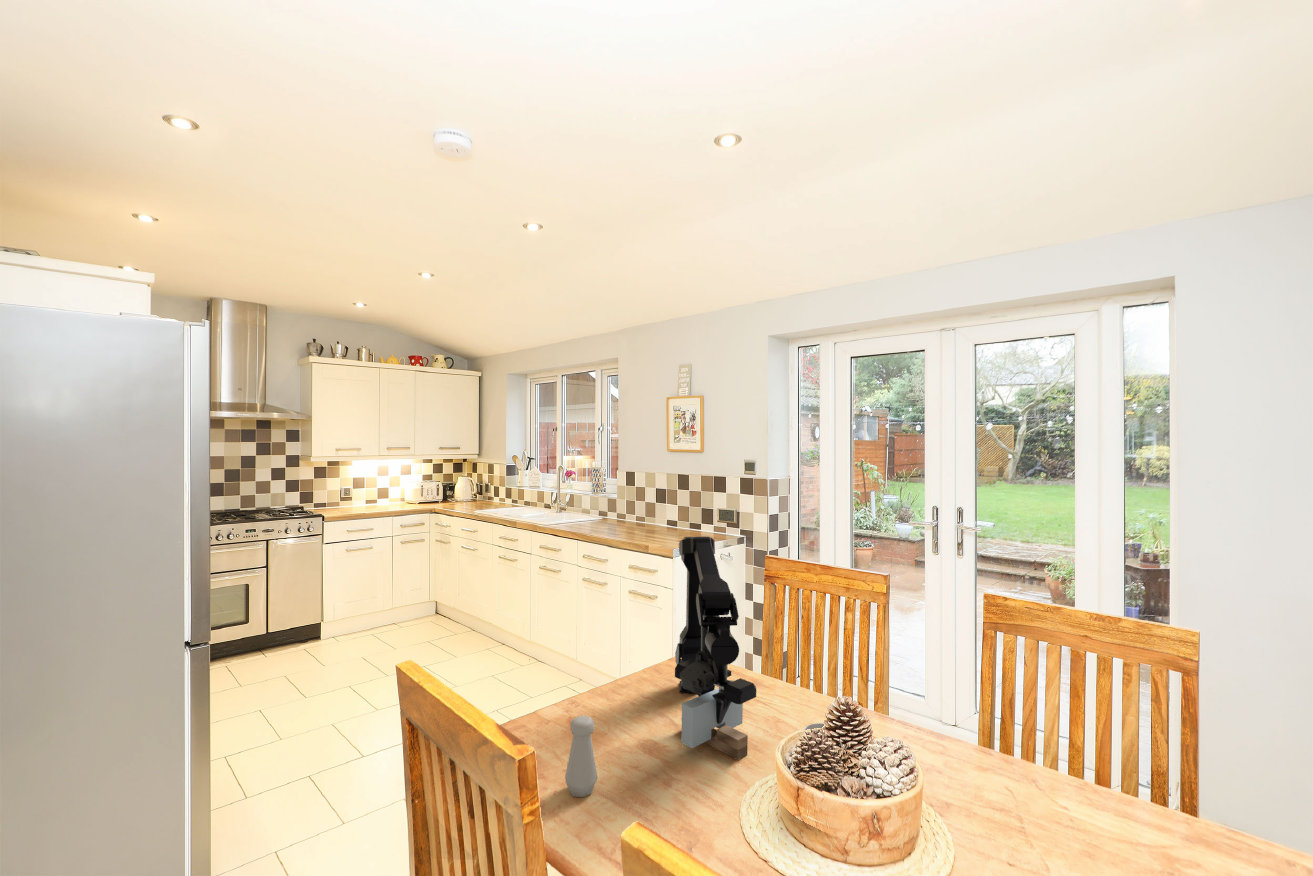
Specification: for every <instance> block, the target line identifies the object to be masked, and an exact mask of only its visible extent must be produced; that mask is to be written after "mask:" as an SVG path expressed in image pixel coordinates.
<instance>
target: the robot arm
mask: <svg viewBox="0 0 1313 876" xmlns="http://www.w3.org/2000/svg"><path fill="white" fill-rule="evenodd" d="M715 546H716V544H715V539H714V538H713V537H710V536H684V537H683V539H681V540H679V543H678V552H679V553H678V554H679V555H680V556H681V561H682V562H683V565H684V566H685V568H686V601H685V602H686V607H685V626H684V628H682V630H681V632H680V634H679V642H678V643H677V644H676V648H675V654H674V656H675V657H674V658H675V664H676V666H675V668H674V678H676V679H678V680H679V693H682V694H683V693H686V694H687V693H688V694H694V695H695V694H696V695H697V697H699V696H701V695H704V694H706V693H708V692H711V691H713V690H716V689H715V687H718V688H719V692H718V693H716V694H714V695H712V696H713V697H714V699H715V700H716V719H717V724H720V723H721V722H722V721H723V718H724V716H725V714H726V712H727V710H728V708H729V706H730V704H731V702H733V703H735V704H742V703H743V704H744V703H747V702H749V701H750V700H753V699H755V698H757V686H756V685H755V683H754V682H751V681H749V680H746V679H743V678H737V679H736V680H731V679H730V680H729V679H728V678H729V677H731V676H732V670H729V668H728V666H729V665H731V664H732V663H734V662H735V661H736V660H737V659H738V657H739V654H740V646H739V643H738V641H737V640H736V638H735V637H734V636H733V634H732V633H731V626H738V619H739V617H740V615H739V610H738V606H737V601H736V598H735V597H734V596H735V595H734V593H733V592H731V589H730V587H729V584H728V582H726V580H724V579H722V578H721V575H720V572H719V568H718V564H717V560H716V556H715V554H716V547H715ZM729 615H730V616H729Z"/></svg>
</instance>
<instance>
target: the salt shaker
mask: <svg viewBox="0 0 1313 876" xmlns="http://www.w3.org/2000/svg"><path fill="white" fill-rule="evenodd" d="M569 728H570V732H571V735H573V736H572V740H571V746H570V750H569V756H568V760H567V766H566V772H565V776H564V779H565V784H566V787H567V788H568V790H569V792H570V793H571V795H572V796H573V797H576V798H585V797H587V796H590V795H591V794H592V793H593V791H594V788H595V785H596V782H597V781H598V772H597V767H596V766H597V765H596V761H595V755H594V746H593V741H592V734H593V733H594V731H595V722H594V719H593V718H591V717H590V716H588V715H579V716H576V717H574V718H573V719H572V720H571V721H570V727H569Z"/></svg>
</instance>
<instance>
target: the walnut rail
mask: <svg viewBox="0 0 1313 876" xmlns="http://www.w3.org/2000/svg"><path fill="white" fill-rule="evenodd" d="M748 739H749V738H748V734H746V733H744V732H742V731H740V730H738V729H735V727H734V728H731V727H729V726H727V725H725V726H723V727H721V728H717V729H716V728H713V729H711V739H710V740H708V741H706V742H704V744H707V745H708V746H710V747H712V748H715V749H716V750H718V751H720V752H721V753H724V754H726V755H727V756H728V757H729V756H730V757H731V758H734V760H737V761H739V760H741V759H743V758H745V757H746V756H748Z"/></svg>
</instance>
